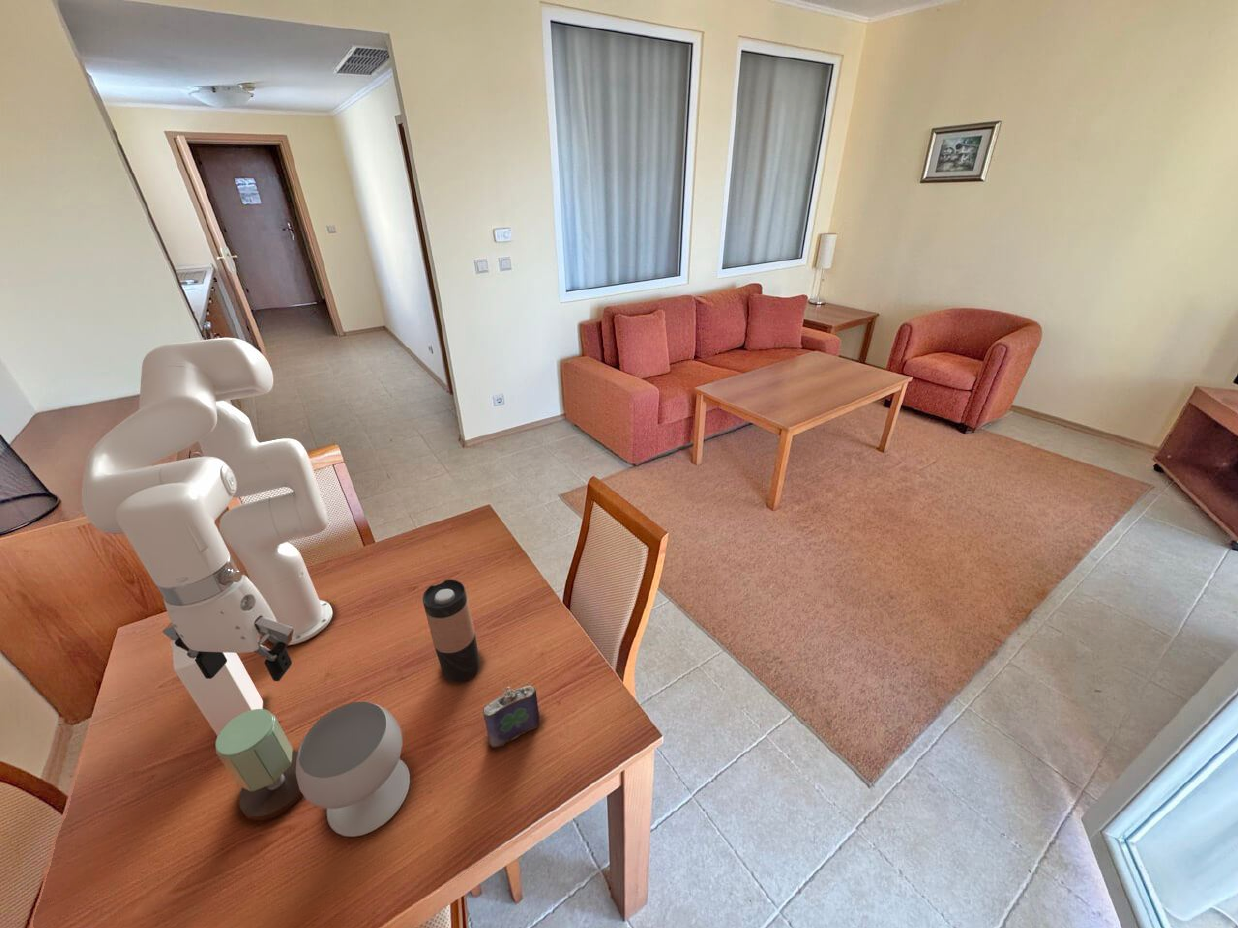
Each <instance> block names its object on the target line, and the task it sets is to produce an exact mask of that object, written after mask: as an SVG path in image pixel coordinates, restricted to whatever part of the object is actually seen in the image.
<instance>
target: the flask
mask: <svg viewBox="0 0 1238 928" xmlns="http://www.w3.org/2000/svg"><path fill="white" fill-rule="evenodd" d="M510 688H511V687H510V686H506V687H504V689H502V690H501V691H502V692H503V695H501V696H499V697H498V698H496V699H494V700H492V701H491V702H490V703H488V704H487V705H485V706H484V708H483V710H482V714H483V719H484V722H485V727H486V732H487V736H488V742H489V745H490V746H491V747H492V748H499V747H503V746H505V744H506V743H508V742H510V741H513V740H515V739H517V738H518V737H519V736H520V735H521V734H523V735H524V734H525V733H526V732H529V731H531V730H533V729H536V728H537V727H538V726H539V724H540V723H541V721H540V712H539V704H538V695H537V690H536V689H535V687H534V686H532V685H525V686H523V687H520V688H516V689H510ZM504 690H505V691H504Z"/></svg>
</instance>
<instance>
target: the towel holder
mask: <svg viewBox="0 0 1238 928" xmlns="http://www.w3.org/2000/svg"><path fill="white" fill-rule="evenodd" d="M297 755H298V751H296V750H295V751H294V750H293V752H292V762H291V764H290V766H289V767H288V768H287V770H286V771H285V772H284V773H283V774H282V775H281V776H280V777H279V778H278V779H277V781H276V782H274V783H273V784H270V785H268V786H265V787H263V788H260V789H258V790H255V791H249V790H247V789H244V788H242V787H241V790H240V792H239V795H238V806H239V808H240V811H241V812H242V813H243V814H244V816H245V817H247V818H248V819H250V820H253V821H264V820H265V821H266V820H269V819H272V818H275V817H277V816H279V815H281V814H283V813H285V812H286V811H287V810H290V809H291V808H292V807H293V806H294V805H295V804H297V803H298V801H299V800H300V799H301V798H302V797H304V796H303V794H302V793H301V791H300V789H299V786H298V782H297V777H296V760H297Z"/></svg>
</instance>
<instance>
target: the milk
mask: <svg viewBox="0 0 1238 928" xmlns="http://www.w3.org/2000/svg"><path fill="white" fill-rule="evenodd" d="M169 646H170V648H171V649H172V660H173V661H172V662H173V663H172V665H173V671H174V673H175V674H176V675H177V677H178V679H179V681H180V682H181V683H182V685H183V686H184V688H185V689H186V691H187V693H188V695H190V697H191V698H192V700H193V701H194V703H195V705H196V706H197V708H198V709H199V711H200V712H201V714H202V715H203V717H204V718H205V720H206V721H207V723H208V724H209V726H210V727H211V729H212V730H213V732H214V733H215V735H216V737H218V735H219V733H220V732H221V730H222V729H223V728H224V727H225V726H226V725H227V724H228V723H229V722H230V721H231V720H233V719H234V718H236V717H237V716H239V715H241V714H243V713H245V712H247V711H250V710H254V709H264V700H263V698H262V696H261V695H260V693H259V691H258V689H257V687H256V686H255V684H254V682H253V680H252V678H251V677H250V675H249V673H248V671H247V670H246V667H245V666H244V664H243V662H242V660H241V659H240V657H239V655H238V653H229V652H223V654H224V655H225V657H226V659H227V662H226V664H225V665H224V666H223V667H222V668H221V669H220V670H219V671H218V672H217V674H216V675H215V676H214V677H213V678H211V679H206V678H205V676H204V675H203V673H202V671H201V670H200V668H199V666H198V665H197V663H196V662H195V659H196V658H190V657H188V656H187V652H188V651H186V650H184V649H182V648H180V647H178V646H176V644H175V640H172V641H170V642H169Z"/></svg>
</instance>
